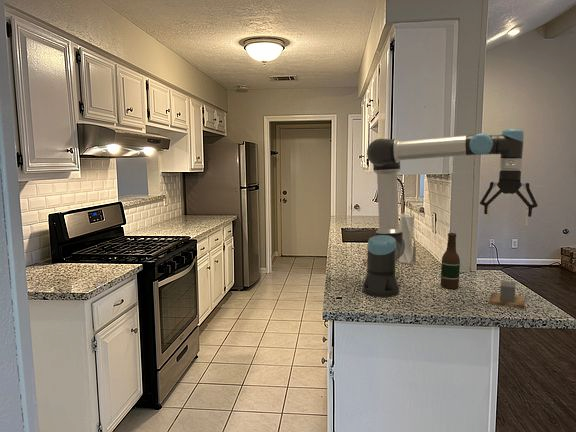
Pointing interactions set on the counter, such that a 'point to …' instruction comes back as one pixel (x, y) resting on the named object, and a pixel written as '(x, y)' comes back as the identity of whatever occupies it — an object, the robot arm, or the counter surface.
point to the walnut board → (517, 302)
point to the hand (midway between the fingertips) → (506, 223)
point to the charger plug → (507, 291)
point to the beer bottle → (450, 265)
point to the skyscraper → (407, 238)
